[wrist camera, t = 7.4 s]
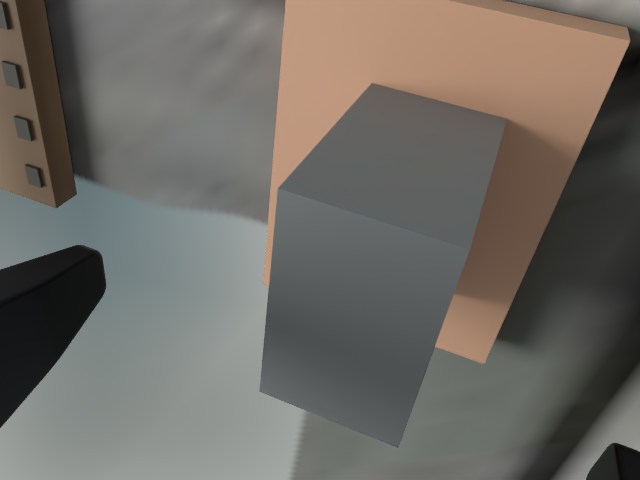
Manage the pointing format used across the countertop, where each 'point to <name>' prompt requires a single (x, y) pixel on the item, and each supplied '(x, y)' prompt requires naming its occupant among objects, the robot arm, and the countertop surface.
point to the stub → (414, 187)
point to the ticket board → (31, 108)
